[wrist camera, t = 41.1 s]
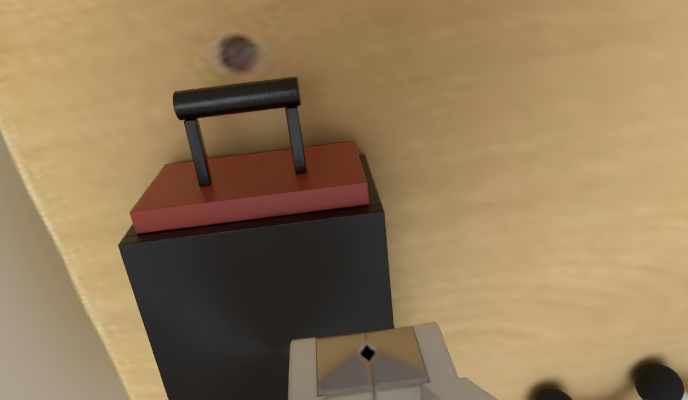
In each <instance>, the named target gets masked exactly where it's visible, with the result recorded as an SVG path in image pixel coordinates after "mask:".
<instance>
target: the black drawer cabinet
mask: <svg viewBox="0 0 688 400" xmlns="http://www.w3.org/2000/svg"><path fill="white" fill-rule="evenodd" d="M359 157H360V160H361V164H362V167H363V170H364V174H365V177H366V180H367V185H368V195H369V205H362V206H354V207H353V208H352V209H344V210H337V211H329V212H321V213H313V214H305V215H297V216H289V217H281V218H274V219H266V220H258V221H250V222H242V223H234V224H226V225H219V226H211V227H203V228H195V229H187V230H179V231H171V230H165V231H157V232H149V233H141V234H136V231H135V228H134V225H132V226H131V227H130V229H129V230H128V232H127V233H126V235H125V236H124V238H123V239H122V240H121V242H120V243H119V245H118V247H119V250H120V253H121V256H122V259H123V262H124V265H125V268H126V271H127V274H128V277H129V280H130V283H131V286H132V289H133V292H134V295H135V298H136V302H137V305H138V308H139V311H140V314H141V317H142V320H143V323H144V326H145V329H146V332H147V335H148V338H149V341H150V344H151V347H152V350H153V354H154V357H155V360H156V363H157V366H158V369H159V372H160V375H161V378H162V381H163V384H164V387H165V390H166V393H167V396H168V399H169V400H288V388H289V362H290V344H291V341H292V340H296V339H306V338H316V339H317V337H322V336H331V335H341V334H351V333H361V332H371V331H378V330H386V329H393V328H394V324H393V312H392V299H391V287H390V275H389V263H388V251H387V239H386V227H385V215H384V210H383V207H382V204H381V201H380V198H379V195H378V192H377V189H376V186H375V183H374V180H373V177H372V174H371V171H370V168H369V165H368V162H367V159H366V157H365V154H361V155H359Z"/></svg>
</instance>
